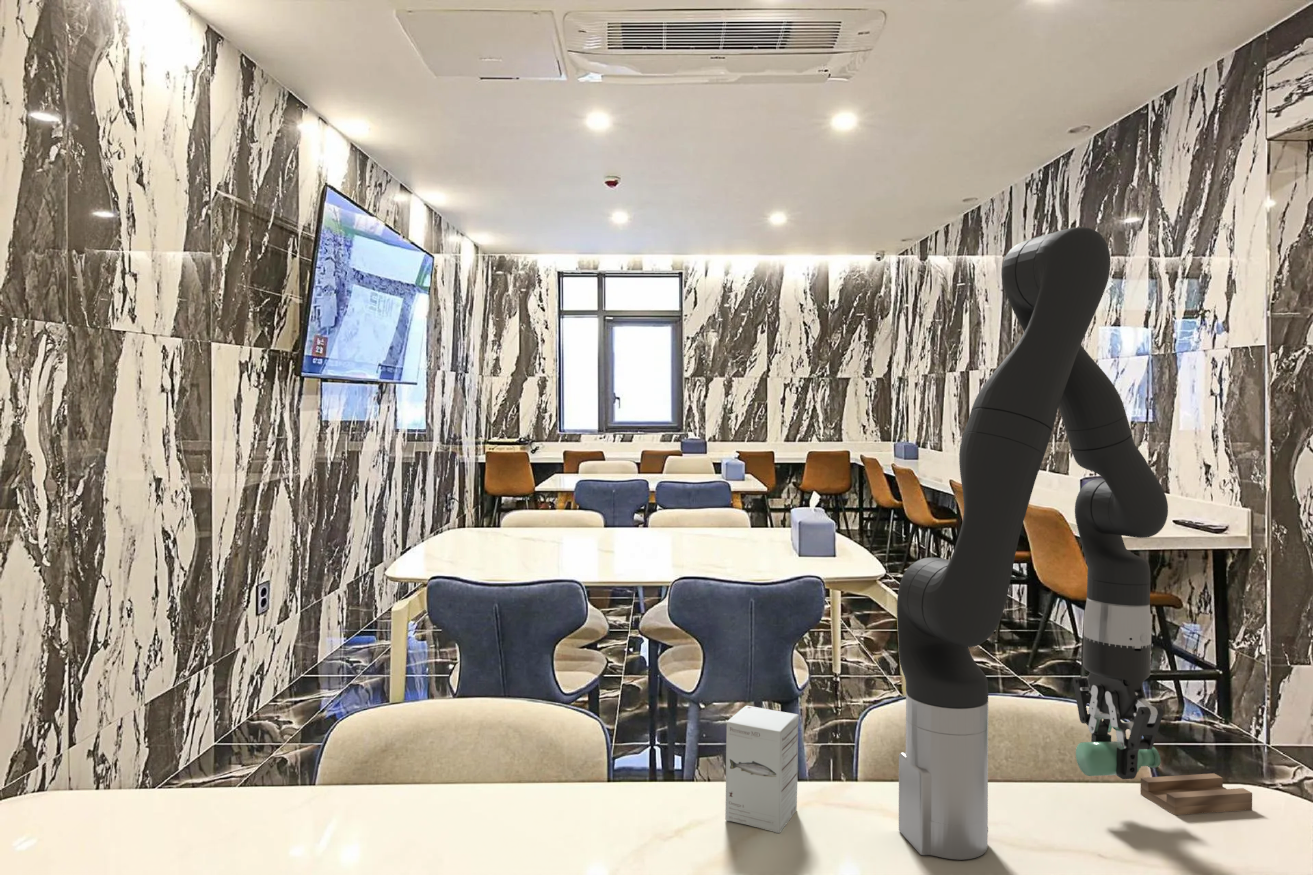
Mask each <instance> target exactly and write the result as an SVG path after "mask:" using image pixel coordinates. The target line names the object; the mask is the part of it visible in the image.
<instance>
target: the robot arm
mask: <svg viewBox="0 0 1313 875" xmlns="http://www.w3.org/2000/svg"><path fill="white" fill-rule="evenodd" d="M1110 271H1111V252H1110V249H1109V245H1108V244H1107V241H1106V239H1105V238H1104V237H1103V235H1102V234H1101V233H1100V232H1098V230H1095V229H1093V228H1090V227H1086V226H1085V227H1084V226H1081V227H1080V226H1079V227H1072V228H1071V227H1070V228H1065V229H1061V230H1058V231H1054V232H1051V233H1047V234H1044V235H1043V234H1042V235H1040V236H1037V237H1036V236H1035V237H1034V238H1030V239H1027V240H1023V241H1021V242H1019V243H1017V244H1015V245H1014V246H1012V248H1010V249H1009V251H1008V252H1007V253H1006V255H1005V256H1004V259H1003V262H1002V266H1001V282H1002V286H1003V289H1004V291H1005V292H1004V293H1005V296H1006V297H1007V300H1008V303H1009V304H1010V307H1011V309H1012V312H1013V313H1014V315H1015V317H1016V319H1017V320H1018V323H1019V325H1020V326H1021V329H1022V331H1023V334H1022V335H1021V337H1020V339H1019V341H1018V342H1017V344H1016V345H1015V346H1014V347H1013V349H1012V350H1011V351H1010V352H1009V353H1008V354H1007V356H1006V357H1005V358H1004V360H1003V361H1002V362H1001V363H1000V364H998V367H997V368H996V369H995V370H994V371H993V372H992V373H991V375H990V376H989V378H987V380H986V382H985V383H984V384H983V386H982V388H981V389H980V390H979V392H978V394H977V395H976V398H975V399H974V401H973V404H972V407H971V409H970V410H971V411H970V413H969V417H968V420H967V423H966V425H965V429H964V431H963V435H962V438H961V442H960V447H959V452H958V453H959V457H958V460H959V461H958V463H959V473H960V474H959V475H960V480H961V481H960V482H961V487H962V488H961V489H962V496H963V517H962V521H961V522H962V524H961V527H960V530H959V535H958V537H957V540H956V543H955V546H954V550H953V552H952V555H951V557H950V559H945V558H942V557H941V558H940V557H924V558H921V559H918V560H916V561H914V562H913V563H912V564H911V565H909V566H908V567H907V569H906V570H905V571H904V574H903V575H902V577H901V579H900V582H899V586H898V591H897V598H896V619H897V621H896V622H897V623H896V624H897V643H898V644H897V645H898V648H897V649H898V659H899V665H900V669H901V671H902V673H903V676H904V680H905V752H903V751H902V752H900V753H899V754H898V832H900V834H901V835H902V836H903V837H904V838H905V840H907V841H908V842H909V844H910V845H911V846H912V847H913V848H914V849H915V850H916V851H917V852H918V853H919V854H920V855H921V856H933V857H939V858H941V859H942V858H943V859H947V860H948V859H949V860H962V861H963V860H971V859H976V858H979V857H981V856H982V855H984V854H986V852H987V850H988V842H989V841H988V836H989V835H988V833H989V825H988V823H989V814H988V813H989V808H988V807H989V805H988V804H989V803H988V802H989V801H988V800H989V793H988V792H989V681H988V678H987V675H986V674H985V673H984V671H983V670H982V669H981V667H980V666H979V665H978V663H977V662H976V661H975V660H974V658H973V656H972V654H971V652H970V649H969V648H974V647H977V646H980V645H981V644H983V643H985V642H986V641H988V640H989V638H990V637H991V636H992V635H993V634H994V632H995V631H996V629H997V628H998V627H999V624H1000V622H1001V619H1002V617H1003V614H1004V610H1005V607H1006V603H1007V598H1008V594H1009V590H1010V589H1009V588H1010V584H1011V579H1012V573H1013V570H1014V563H1015V558H1016V554H1017V549H1018V544H1019V539H1020V535H1021V533H1022V532H1021V531H1022V528H1023V524H1024V521H1025V518H1026V515H1027V511H1028V508H1029V505H1030V504H1029V503H1030V500H1031V496H1032V493H1033V491H1034V486H1035V483H1036V480H1037V477H1038V473H1039V472H1040V469H1041V466H1042V463H1043V461H1044V458H1045V455H1046V452H1047V449H1048V445H1049V443H1050V438H1051V437H1052V432H1053V430H1054V427H1055V426H1054V425H1055V423H1056V418H1057V413H1058V410H1059V412H1060V416H1061V420H1062V424H1063V427H1064V430H1065V433H1066V436H1067V440H1068V443H1069V446H1070V450H1071V453H1072V457H1073V459H1074V461H1075V462H1076V464H1077V465H1078V466H1079V467H1081V468H1083V469H1085V470H1086V471H1090V472H1093V473H1095V474H1097V475H1099V476H1100V477H1101V478H1095V479H1092V480H1090V481H1088V482H1086V483H1085V484H1083V486H1082V487H1081V488H1080V490H1079V492H1078V494H1077V496H1076V499H1075V503H1074V520H1075V523H1076V524H1075V525H1076V527H1077V531H1078V535H1079V538H1080V542H1081V547H1082V551H1083V552H1082V553H1083V555H1084V558H1085V561H1086V566H1087V574H1086V575H1087V581H1086V582H1087V583H1086V585H1087V586H1086V602H1085V608H1084V613H1083V615H1084V616H1083V646H1082V647H1083V648H1082V666H1083V668H1084V670H1085V671H1087V672H1088V676H1074V677H1073V679H1072V682H1073V683H1072V684H1073V688H1074V690H1073V691H1074V694H1075V699H1076V700H1075V701H1076V706H1077V711H1078V712H1077V713H1078V718H1079V721H1080V722H1081V724H1086V726H1087V727H1088V731H1089V733H1091V737H1090V738H1091V741H1090V742H1108V741H1112V735H1111V734H1110V733H1111V732H1112V730H1115V735H1116V736H1115V737H1116V741H1117V743H1118V747H1117V759H1116V761H1117V767H1116V775H1115V776H1117V777H1118V778H1120V779H1122V780H1133V779H1135V778H1136V776H1137V774H1138V772H1137V764H1138V751H1139V750H1141V749H1146V750H1150V749H1152V748H1153V747H1154V744H1155V741H1156V738H1157V736H1158V733H1159V729H1160V726H1161V722H1162V719H1163V717H1164V711H1163V708H1162V707H1161V706H1153V705H1152V704H1151V703H1150V702H1148V701H1147V700H1146V693H1145V691H1144V682H1145V681H1146V680H1148V678H1149V677H1150V676H1151V668H1152V667H1151V663H1152V661H1151V660H1152V630H1153V629H1152V626H1153V624H1152V616H1151V605H1150V604H1151V568H1150V564H1149V562H1148V561H1147V560H1146V559H1144V558H1143V557H1140V556H1139V555H1136V554H1134V553H1133V552H1131V551H1129V550H1128V549H1127V548H1126V545H1125V542H1124V540H1123V537H1129V538H1137V539H1147V538H1151V537H1154V536H1155V535H1157V534H1158V533H1160V532H1161V531H1162V530H1163V528H1164V526H1165V525H1166V523H1167V519H1168V515H1169V504H1168V499H1167V495H1166V493H1165V490H1164V488H1163V486H1162V484H1161V482H1160V481H1159V479H1158V478H1157V476H1156V475H1155V473H1154V472H1153V469H1152V468H1151V467H1150V464H1148V462H1147V460H1146V458H1145V457H1144V455H1143V454H1142V452H1141V451H1140V450H1139V448H1138V447H1137V445H1136V443H1135V441H1134V437H1133V434H1132V430H1131V425H1130V422H1129V420H1128V414H1127V412H1126V409H1125V405H1124V403H1123V400H1122V398H1121V396H1120V393H1119V391H1118V390H1117V388H1116V386H1115V385H1114V384H1113V382H1112V380H1111V379H1110V378H1109V377H1108V375H1107V374H1106V373H1105V372H1104V371H1103V369H1102V368H1101V367H1100V366H1099V364H1097V362H1096V361H1095V360H1094V359H1093V358H1092V357H1091V356H1090V354H1089V353H1088V352H1087V351H1086V349H1085V348H1084V347H1083V345H1082V343H1083V341H1084V339H1085V336H1086V334H1087V332H1088V331H1089V330H1088V329H1089V328H1090V325H1091V323H1092V321H1093V318H1094V316H1095V314H1096V312H1097V309H1098V307H1099V305H1100V303H1101V300H1102V298H1103V296H1104V293H1105V291H1106V290H1105V289H1107V285H1108V281H1109V277H1110ZM1087 705H1089V706H1088V708H1087ZM1122 720H1130V721H1127V722H1126V721H1125V722H1123V721H1122ZM1127 730H1129V733H1130V734H1129V737H1127ZM1142 737H1143V738H1142Z"/></svg>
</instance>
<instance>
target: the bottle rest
mask: <svg viewBox="0 0 1313 875" xmlns="http://www.w3.org/2000/svg"><path fill="white" fill-rule="evenodd" d="M1223 778H1224V777H1222V776H1220V775H1218V774H1216V773H1214V772H1213V773H1202V774H1201V773H1199V774H1182V775H1166V776H1151V777H1140V795H1141V796H1143V797H1144V798H1146V799H1148V800H1149V801H1151V802H1153V803H1154V804H1156V805H1157V806H1159V807H1160V808H1162V809H1164V810H1166V811H1167V812H1169V813H1171V814H1172V815H1173V816H1183V815H1194V814H1196V815H1197V814H1212V813H1214V814H1215V813H1225V812H1226V813H1227V812H1239V811H1240V812H1241V811H1243V812H1244V811H1252V810H1253V792H1252V791H1250V790H1248V789H1246V788H1243V787H1240V788H1226V787H1224V785H1223V784H1224V783H1223V781H1224V779H1223Z"/></svg>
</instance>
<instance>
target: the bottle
mask: <svg viewBox="0 0 1313 875" xmlns="http://www.w3.org/2000/svg"><path fill="white" fill-rule="evenodd" d="M1117 747H1118V743H1117V740H1115V741H1114V740H1113V741H1112V740H1111V741H1108V742H1091V741H1085V742H1083V741H1082V742H1080V743H1078V744H1077V746H1076V748H1075V758H1076V764H1077V766H1078V768H1079V770H1080V771H1081V772H1082V774H1083V775H1086V776H1087V777H1100V776H1104V777H1105V776H1117V775H1116V767H1117V761H1116V759H1117ZM1161 760H1162V758H1161V755H1160V752H1159V751H1158V750H1157V748H1156V747H1155V746H1153V748H1152V749H1150V750H1146V749H1141V750H1139V751H1138V764H1137V773H1139V770H1140V769H1141V768H1142V767H1147V768H1150V769H1153V768H1154V769H1155V768H1158V767H1159V766H1161Z"/></svg>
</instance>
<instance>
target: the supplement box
mask: <svg viewBox="0 0 1313 875" xmlns="http://www.w3.org/2000/svg"><path fill="white" fill-rule="evenodd" d="M799 717H800V715H799V714H797V713H792V712H785V711H781V710H780V711H779V710H774V709H769V708H764V707H757V706H751V705H745V706H744V707H742V708H740V710H738V711H737V712H736V713H735V714H734V715H733V716H731V717H730V718H729V719H728V720H727V721H726V743H725V744H726V745H725V748H726V749H725V750H726V751H725V753H726V754H725V814H724V815H725V818H724V819H725V821H726V822H734V823H738V824H742V825H748V826H750V827H753V828H754V827H755V828H758V829H762V830H766V831H770V832H773V833H776V834H780V833H781V832H782V831H783V829H784V828H785V826H786V825H787V824H788V823H789V821H790V820H791V819H792V817H793V816H794V814H795V813H796V811H797V810H798V808H797V807H798V775H799V774H798V773H799V772H798V769H799V768H798V766H799V765H798V760H799V759H798V757H799V750H798V749H799V746H798V745H799V744H798V743H799V719H800V718H799Z"/></svg>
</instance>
